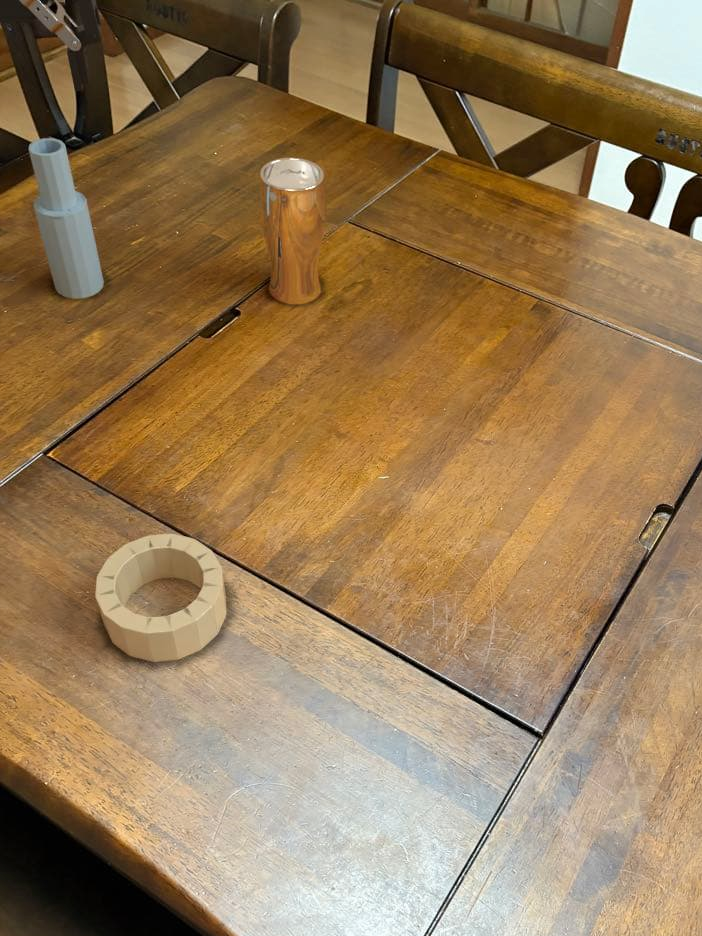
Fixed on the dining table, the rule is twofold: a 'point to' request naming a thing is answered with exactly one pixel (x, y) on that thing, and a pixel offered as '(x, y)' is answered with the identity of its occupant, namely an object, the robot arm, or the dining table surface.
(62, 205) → the bottle
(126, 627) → the ring
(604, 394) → the dining table surface
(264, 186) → the beer glass
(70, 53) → the robot arm
